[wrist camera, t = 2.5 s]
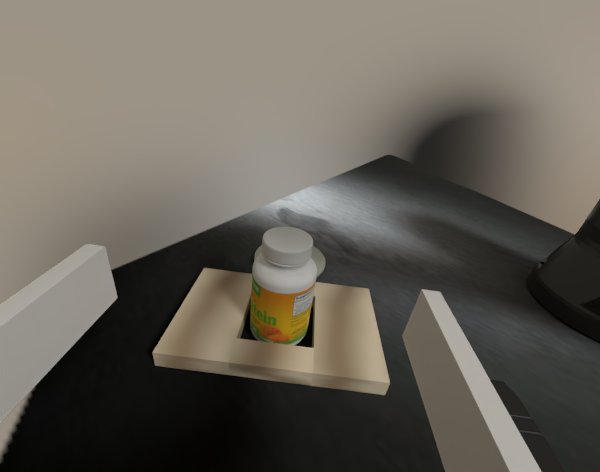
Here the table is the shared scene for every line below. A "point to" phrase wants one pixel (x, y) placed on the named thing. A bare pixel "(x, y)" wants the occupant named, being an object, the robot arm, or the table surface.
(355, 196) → the table surface
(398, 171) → the table surface
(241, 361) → the socket plate
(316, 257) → the pale green oval pebble
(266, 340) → the supplement bottle
